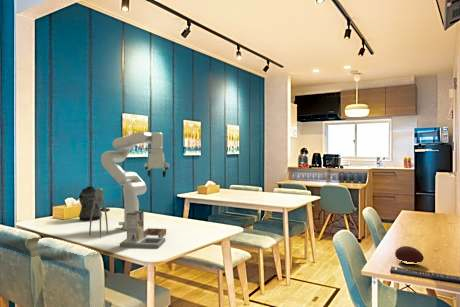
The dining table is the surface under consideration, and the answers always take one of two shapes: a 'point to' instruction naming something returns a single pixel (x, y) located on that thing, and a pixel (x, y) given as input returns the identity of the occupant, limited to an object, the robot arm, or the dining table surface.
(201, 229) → the dining table surface
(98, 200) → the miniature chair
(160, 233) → the stall
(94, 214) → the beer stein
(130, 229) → the coffee box
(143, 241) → the board
